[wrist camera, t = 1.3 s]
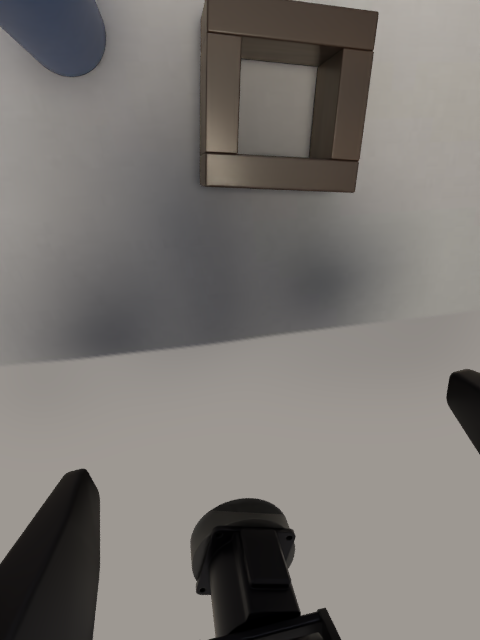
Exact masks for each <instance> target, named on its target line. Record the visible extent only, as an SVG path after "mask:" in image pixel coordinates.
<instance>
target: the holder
mask: <svg viewBox="0 0 480 640" xmlns="http://www.w3.org/2000/svg"><path fill="white" fill-rule="evenodd" d="M377 22H378V12H376V11H368V10H361V9H353V8H346V7H338V6H331V5H323V4H316V3H308V2H301V1H293V0H205V3H204V7H203V12H202V16H201V56H200V185H201V186H206V187H225V188H250V189H275V190H299V191H324V192H348V193H353V192H355V187H356V179H357V172H358V164H359V162H358V161H359V159H360V151H361V144H362V136H363V129H364V121H365V114H366V106H367V99H368V91H369V84H370V77H371V69H372V62H373V54H374V52H373V50H374V44H375V37H376V29H377ZM241 58H242V59H252V60H262V61H271V62H281V63H291V64H301V65H311V66H319V67H318V70H317V81H316V92H315V102H314V113H313V124H312V134H311V145H310V156H309V158H299V157H281V156H264V155H246V154H237V153H238V127H239V99H240V71H241Z"/></svg>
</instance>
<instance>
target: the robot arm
mask: <svg viewBox="0 0 480 640" xmlns="http://www.w3.org/2000/svg"><path fill="white" fill-rule="evenodd" d="M447 403H448V405H449V407H450V409H451V410H452V412H453V414H454V415H455V417H456V418H457V420H458V421H459V423H460V424H461V426H462V428H463V429H464V431H465V432H466V434H467V435H468V437H469V438H470V440H471V441H472V443H473V445H474V446H475V448H476V449H477V451H478V452H479V454H480V373H478V372H476V371H473V370H470V369H464V370H460V371H457V372H453V373H452V374H451V375H450V378H449V384H448V390H447ZM294 540H295V534H294V531H293V530H292V529H289V528H267V527H245V526H223V525H219V526H215V527H214V528H213V529H212V531H211V535H210V538H209V542H208V545H207V549H206V552H205V555H204V559H203V562H202V566H201V569H200V573H199V576H198V579H197V583H196V592H197V594H200V595H211V599H212V607H213V617H214V626H215V635H216V638H213V639H209V640H341V639H340V636H339V634H338V632H337V630H336V628H335V626H334V624H333V622H332V620H331V618H330V616H329V614H328V612H327V610H326V608H322V609H318V610H317V612H313V613H310V614H306V615H302V616H301V612H300V609H299V606H298V603H297V599H296V596H295V593H294V590H293V586H292V584H291V578H290V575H289V572H288V568H287V565H286V561H287V559H288V556H289V553H290V551H291V548H292V545H293V543H294ZM99 571H100V497H99V492H98V489H97V487H96V486H95V484H94V482H93V480H92V478H91V477H90V475H89V473H88V472H87V470H86V469H79V470H75V471H71V472H68V473H66V474H65V475H64V476H63V478H62V479H61V480H60V482H59V483H58V485H57V486H56V487H55V489H54V490H53V492H52V493H51V494H50V496H49V497H48V499H47V500H46V501H45V503H44V504H43V505H42V507H41V508H40V510H39V511H38V512H37V514H36V515H35V517H34V518H33V519H32V521H31V522H30V524H29V525H28V526H27V528H26V529H25V531H24V532H23V533H22V535H21V536H20V537H19V539H18V540H17V542H16V543H15V544H14V546H13V547H12V549H11V550H10V551H9V553H8V554H7V556H6V557H5V558H4V560H3V561H2V562H1V564H0V640H92V639H93V629H94V620H95V611H96V601H97V592H98V583H99Z"/></svg>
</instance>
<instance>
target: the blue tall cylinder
mask: <svg viewBox="0 0 480 640" xmlns="http://www.w3.org/2000/svg"><path fill="white" fill-rule="evenodd" d="M0 26H1V27H2V28H3V29H4V30H5V31H6V32H7V33H8V34H9V35H10V36H12V37H13V38H14V39H15V40H16V41H17V42H18V43H19V44H20V45H21V46H22V47H23V48H25V49H26V50H27V51H28V52H29V53H30V54H31V55H32V56H33V57H34V58H35V59H36V60H38V61H39V62H40V63H41V64H42V65H43V66H44V67H46V68H47V69H49V70H51V71H52V72H54V73H57V74H59V75H63V76H70V77H71V76H80V75H83V74H86V73H88V72H89V71H91V70H92V69H93V68H95V66H96V65H97V64H98V63H99V61H100V60H101V58H102V56H103V53H104V50H105V44H106V33H105V27H104V23H103V20H102V17H101V15H100V12H99V10H98V7H97V5H96V2H95V0H0Z"/></svg>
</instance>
